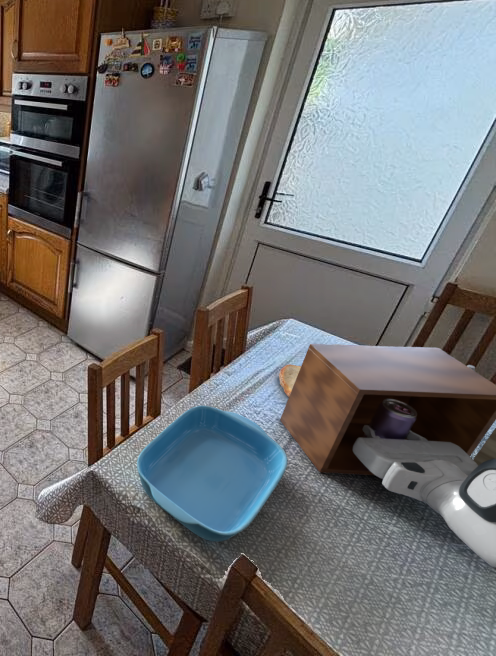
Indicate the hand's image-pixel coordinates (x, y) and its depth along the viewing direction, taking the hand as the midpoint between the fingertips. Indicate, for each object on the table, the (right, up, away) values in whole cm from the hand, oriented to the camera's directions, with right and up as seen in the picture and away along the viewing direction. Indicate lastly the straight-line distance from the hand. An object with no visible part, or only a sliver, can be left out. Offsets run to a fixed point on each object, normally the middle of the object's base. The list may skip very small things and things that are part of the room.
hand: (383, 428), depth 94 cm
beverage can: (0, -8, +3) cm, 8 cm away
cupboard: (0, -7, +6) cm, 10 cm away
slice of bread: (+2, +1, +24) cm, 25 cm away
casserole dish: (-41, -12, -1) cm, 43 cm away
